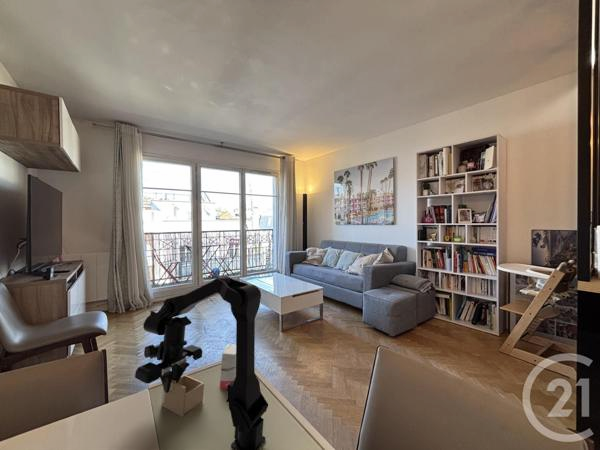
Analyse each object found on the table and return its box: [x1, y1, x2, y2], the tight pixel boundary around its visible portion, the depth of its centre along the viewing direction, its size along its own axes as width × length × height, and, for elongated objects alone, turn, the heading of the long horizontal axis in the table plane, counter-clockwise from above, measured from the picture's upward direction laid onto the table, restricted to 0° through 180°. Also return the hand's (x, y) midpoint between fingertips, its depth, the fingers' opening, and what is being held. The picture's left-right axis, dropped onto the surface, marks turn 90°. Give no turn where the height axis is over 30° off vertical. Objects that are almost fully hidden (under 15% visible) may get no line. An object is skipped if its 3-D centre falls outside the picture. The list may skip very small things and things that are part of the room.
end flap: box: [161, 379, 186, 418], centre depth 74 cm, size 9×2×8 cm, turn 63°
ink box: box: [219, 343, 236, 390], centre depth 91 cm, size 9×5×12 cm, turn 3°
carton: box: [178, 374, 205, 416], centre depth 78 cm, size 9×7×6 cm
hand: (169, 390), depth 75 cm, fingers closed on end flap, 2 cm apart
